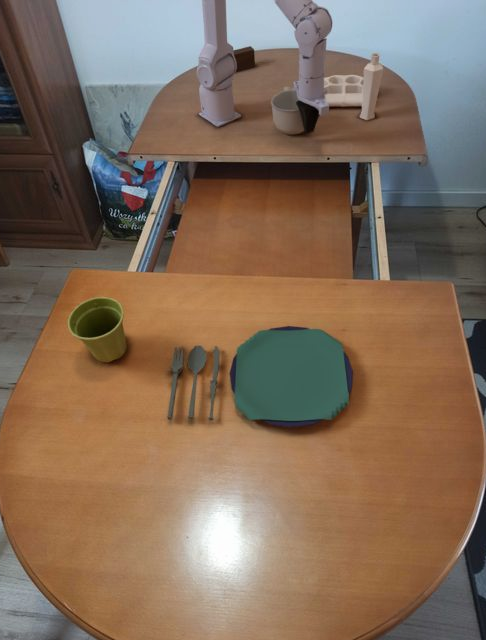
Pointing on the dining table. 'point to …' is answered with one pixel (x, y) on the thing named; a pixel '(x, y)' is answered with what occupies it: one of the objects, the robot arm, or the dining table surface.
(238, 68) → the block
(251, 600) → the dining table surface
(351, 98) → the white multi-hole holder
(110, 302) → the plant pot
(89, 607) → the dining table surface
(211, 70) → the robot arm
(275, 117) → the teacup
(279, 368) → the cutlery set
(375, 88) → the perfume bottle
